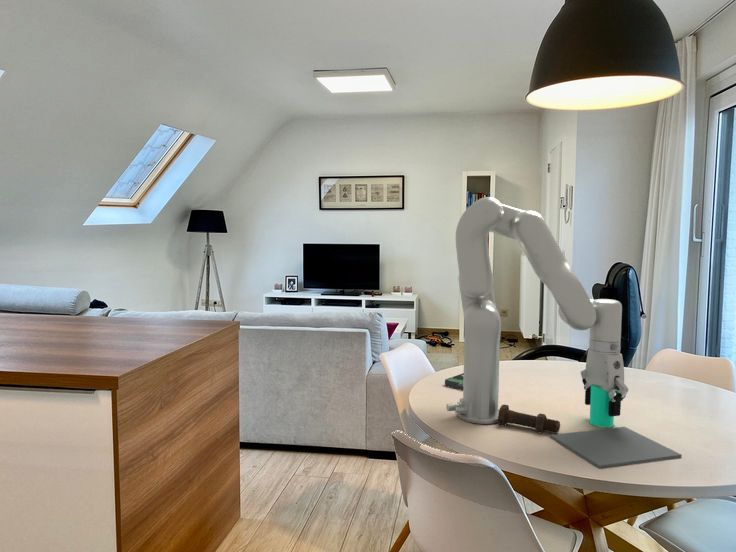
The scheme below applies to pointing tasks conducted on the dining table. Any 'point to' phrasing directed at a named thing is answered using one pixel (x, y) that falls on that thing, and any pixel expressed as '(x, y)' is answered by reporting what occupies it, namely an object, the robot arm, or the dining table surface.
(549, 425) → the bolt
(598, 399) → the candle
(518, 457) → the dining table surface
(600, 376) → the robot arm
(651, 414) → the dining table surface
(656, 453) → the mat
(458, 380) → the disk drive
